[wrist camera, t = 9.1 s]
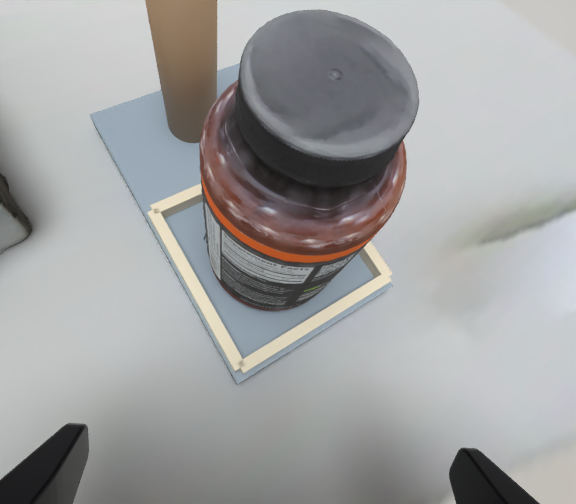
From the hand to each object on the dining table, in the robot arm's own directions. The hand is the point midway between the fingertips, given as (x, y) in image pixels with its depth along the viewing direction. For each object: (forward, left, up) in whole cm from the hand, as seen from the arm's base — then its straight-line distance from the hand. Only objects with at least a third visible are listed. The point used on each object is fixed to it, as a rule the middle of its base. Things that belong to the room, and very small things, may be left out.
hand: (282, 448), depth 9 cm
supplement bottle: (+6, -4, -7) cm, 11 cm away
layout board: (+9, -5, -8) cm, 13 cm away
